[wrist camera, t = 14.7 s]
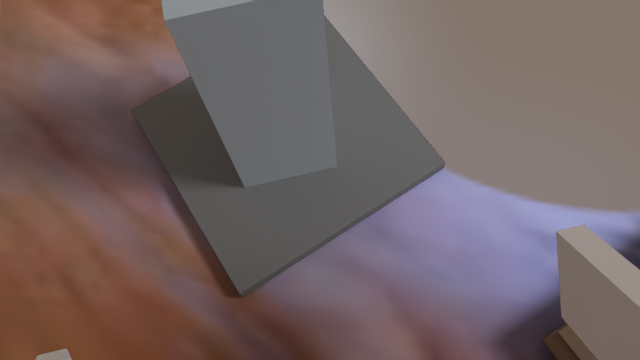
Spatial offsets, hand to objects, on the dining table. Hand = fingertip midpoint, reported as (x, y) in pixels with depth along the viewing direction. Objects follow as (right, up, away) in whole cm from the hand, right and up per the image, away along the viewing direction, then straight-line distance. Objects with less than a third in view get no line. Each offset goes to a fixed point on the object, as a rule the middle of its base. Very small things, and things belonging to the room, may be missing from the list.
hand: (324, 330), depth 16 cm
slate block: (-2, +6, +10) cm, 12 cm away
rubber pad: (-2, +6, +11) cm, 12 cm away
